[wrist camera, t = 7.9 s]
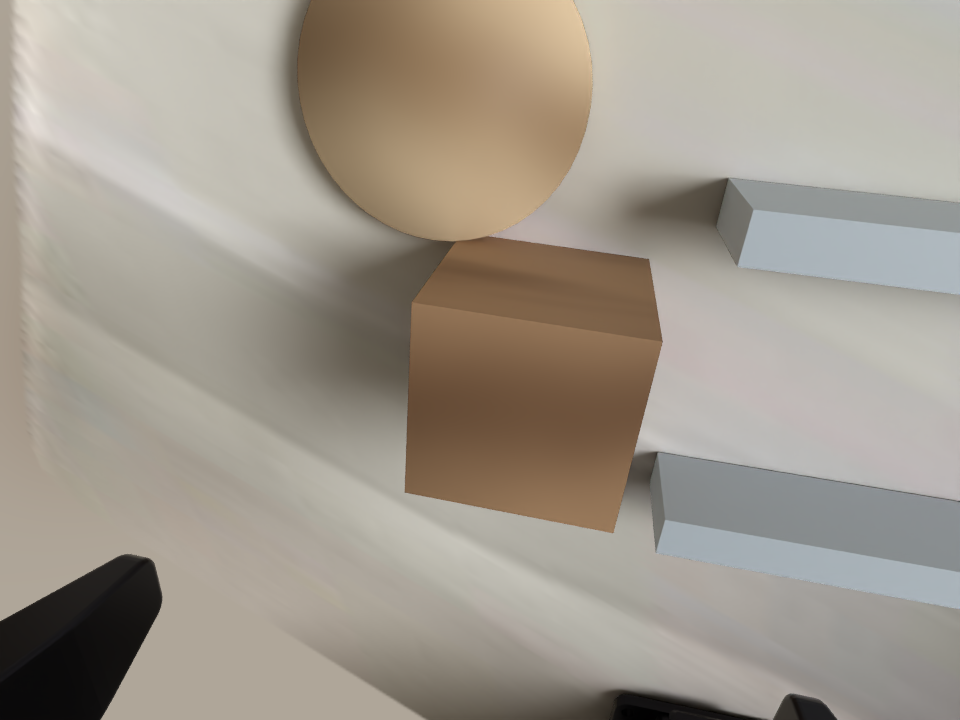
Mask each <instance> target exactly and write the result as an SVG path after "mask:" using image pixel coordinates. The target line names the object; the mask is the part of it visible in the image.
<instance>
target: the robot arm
mask: <svg viewBox="0 0 960 720" xmlns="http://www.w3.org/2000/svg"><path fill="white" fill-rule="evenodd" d="M161 604H162V592H161V588H160V584H159V579H158V576H157V571H156V567H155V564H154V562H153V561H152V560H151V559H149V558H146V557H141V556H137V555H132V554H125V555H121V556H119V557H117V558H115V559H113V560H111V561H109V562H108V563H106V564H104V565H102V566H100V567H98V568H96V569H95V570H93V571H91V572H89V573H87V574H86V575H84V576H82V577H80V578H78V579H77V580H75V581H73V582H71V583H69V584H67V585H66V586H64V587H62V588H60V589H58V590H56V591H55V592H53V593H51V594H49V595H48V596H46V597H44V598H42V599H40V600H38V601H36V602H35V603H33V604H31V605H29V606H28V607H26V608H24V609H22V610H20V611H18V612H16V613H15V614H13V615H11V616H9V617H7V618H6V619H4V620H2V621H0V720H100V719H101V718H102V716H103V715H104V713H105V711H106V710H107V708H108V706H109V704H110V703H111V701H112V699H113V697H114V695H115V694H116V691H117V690H118V688H119V686H120V684H121V682H122V680H123V679H124V677H125V675H126V673H127V671H128V669H129V667H130V666H131V664H132V662H133V659H134V658H135V656H136V654H137V652H138V650H139V649H140V647H141V645H142V643H143V641H144V639H145V637H146V635H147V634H148V632H149V630H150V628H151V626H152V624H153V622H154V620H155V619H156V617H157V615H158V613H159V610H160V608H161ZM609 720H745V719H740V718H735V717H731V716H726V715H721V714H717V713H712V712H707V711H703V710H698V709H693V708H689V707H684V706H679V705H675V704H670V703H665V702H661V701H656V700H651V699H647V698H642V697H637V696H633V695H620V696H618V697H617V698H616V699H615V702H614V705H613V709H612V712H611V716H610V719H609ZM773 720H837V719H836V717H835V716H834V715H833V713H832V712H831V711H830V709H829V708H828V707H827V706H826V705H825V704H824V703H823V702H822V701H820V700H818V699H816V698H812V697H807V696H802V695H797V694H788V695H786V696H785V698H784V699H783V701H782V703H781V705H780V707H779V709H778V711H777V713H776V715H775V717H774V719H773Z"/></svg>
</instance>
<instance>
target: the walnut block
mask: <svg viewBox="0 0 960 720" xmlns="http://www.w3.org/2000/svg"><path fill="white" fill-rule="evenodd" d="M662 342H663V341H662V335H661V329H660V323H659V317H658V311H657V305H656V299H655V293H654V286H653V280H652V274H651V268H650V262H649V259H644V258H637V257H630V256H623V255H615V254H608V253H601V252H594V251H587V250H580V249H573V248H566V247H559V246H552V245H545V244H538V243H531V242H524V241H517V240H510V239H503V238H496V237H489V236H486V237H481V238H476V239H471V240H462V241H456V242H455V243H454V245H453V246H452V247H451V249H450V250H449V252H448V253H447V254H446V256H445V257H444V258H443V260H442V261H441V263H440V264H439V265H438V267H437V268H436V269H435V271H434V272H433V274H432V275H431V276H430V278H429V279H428V280H427V282H426V283H425V285H424V286H423V287H422V289H421V290H420V291H419V293H418V294H417V296H416V297H415V298H414V300H413V301H412V306H411V333H410V361H409V389H408V416H407V444H406V472H405V493H411V494H416V495H421V496H426V497H431V498H436V499H441V500H446V501H451V502H457V503H462V504H467V505H472V506H477V507H482V508H487V509H492V510H498V511H503V512H508V513H513V514H518V515H523V516H528V517H533V518H538V519H544V520H549V521H554V522H559V523H564V524H569V525H574V526H579V527H585V528H590V529H595V530H600V531H605V532H610V533H613V532H614V528H615V524H616V521H617V517H618V513H619V509H620V505H621V501H622V497H623V493H624V490H625V486H626V482H627V478H628V474H629V470H630V466H631V462H632V459H633V455H634V451H635V447H636V443H637V439H638V435H639V431H640V428H641V424H642V420H643V416H644V412H645V408H646V404H647V400H648V397H649V393H650V389H651V385H652V381H653V377H654V373H655V369H656V366H657V362H658V358H659V354H660V350H661V346H662Z"/></svg>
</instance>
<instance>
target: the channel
mask: <svg viewBox="0 0 960 720" xmlns="http://www.w3.org/2000/svg"><path fill="white" fill-rule="evenodd" d="M716 228H717V230H718V231H719V233H720V235H721V237H722V239H723V241H724V243H725V245H726V246H727V248H728V250H729V252H730V254H731V256H732V258H733V260H734V262H735V263H736V265H737V267H742V268H750V269H758V270H766V271H774V272H782V273H790V274H798V275H806V276H814V277H822V278H830V279H838V280H846V281H854V282H862V283H870V284H878V285H886V286H894V287H902V288H910V289H918V290H926V291H934V292H942V293H950V294H958V295H960V203H955V202H946V201H937V200H928V199H918V198H909V197H900V196H891V195H881V194H872V193H863V192H854V191H844V190H835V189H826V188H817V187H807V186H798V185H789V184H780V183H771V182H761V181H752V180H743V179H734V178H729V179H728V183H727V186H726V190H725V194H724V198H723V202H722V206H721V210H720V213H719V217H718V221H717V225H716ZM650 492H651V504H652V515H653V527H654V538H655V550H656V553H658V554H663V555H669V556H674V557H679V558H685V559H690V560H696V561H701V562H706V563H712V564H717V565H723V566H728V567H734V568H739V569H744V570H750V571H755V572H761V573H766V574H771V575H777V576H782V577H788V578H793V579H798V580H804V581H809V582H815V583H820V584H826V585H831V586H836V587H842V588H847V589H853V590H858V591H863V592H869V593H874V594H880V595H885V596H890V597H896V598H901V599H907V600H912V601H918V602H923V603H928V604H934V605H939V606H945V607H950V608H955V609H960V502H958V501H952V500H946V499H940V498H934V497H928V496H921V495H915V494H909V493H903V492H897V491H891V490H885V489H879V488H873V487H867V486H861V485H855V484H849V483H842V482H836V481H830V480H824V479H818V478H812V477H806V476H800V475H794V474H788V473H782V472H776V471H770V470H763V469H757V468H751V467H745V466H739V465H733V464H727V463H721V462H715V461H709V460H703V459H697V458H690V457H684V456H678V455H672V454H666V453H660V452H658V453H657V457H656V460H655V464H654V468H653V472H652V476H651V480H650Z"/></svg>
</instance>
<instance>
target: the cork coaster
mask: <svg viewBox="0 0 960 720" xmlns="http://www.w3.org/2000/svg"><path fill="white" fill-rule="evenodd" d="M297 75H298V89H299V97H300V104H301V108H302V112H303V117H304V121H305V124H306V127H307V130H308V132H309V135H310V138H311V141H312V143H313V145H314V147H315V149H316V151H317V153H318V155H319V157H320V159H321V161H322V162H323V164H324V166H325V167H326V169H327V170H328V172H329V174H330V175H331V176H332V178H333V179H334V180H335V182H336V183H337V184H338V185H339V187H340V188H341V189H342V190H343V191H344V192H345V193H346V194H347V195H348V196H349V197H350V198H351V199H352V200H353V201H354V202H355V203H356V204H357V205H358V206H359V207H361V208H362V209H363V210H364V211H366V212H367V213H368V214H369V215H371V216H373V217H374V218H376V219H377V220H379V221H381V222H382V223H384V224H386V225H388V226H390V227H392V228H394V229H396V230H398V231H401V232H404V233H407V234H410V235H413V236H416V237H420V238H425V239H431V240H439V241H462V240H471V239H476V238H481V237H486V236H489V235H491V234H494V233H497V232H500V231H503V230H505V229H507V228H509V227H510V226H512V225H514V224H516V223H518V222H520V221H521V220H523V219H524V218H526V217H527V216H528V215H530V214H531V213H533V212H534V211H535V210H536V209H537V208H538V207H539V206H541V205H542V204H543V203H544V202H545V201H546V200H547V199H548V198H549V197H550V195H551V194H552V193H553V192H554V191H555V190H556V188H557V187H558V186H559V185H560V183H561V182H562V180H563V179H564V177H565V176H566V174H567V173H568V171H569V169H570V168H571V166H572V163H573V161H574V159H575V157H576V155H577V153H578V151H579V148H580V145H581V143H582V140H583V137H584V134H585V131H586V127H587V122H588V117H589V112H590V108H591V98H592V86H593V81H592V61H591V55H590V49H589V43H588V39H587V36H586V32H585V29H584V25H583V22H582V19H581V17H580V15H579V12H578V10H577V8H576V5H575V3H574V1H573V0H311V2H310V5H309V7H308V10H307V13H306V16H305V18H304V22H303V27H302V31H301V36H300V41H299V50H298V59H297Z"/></svg>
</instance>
